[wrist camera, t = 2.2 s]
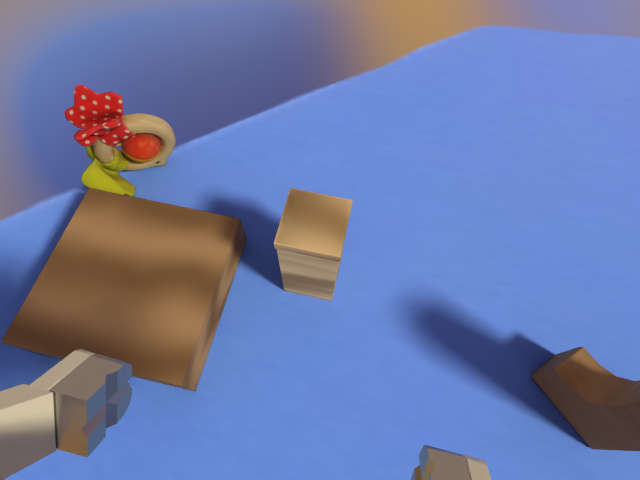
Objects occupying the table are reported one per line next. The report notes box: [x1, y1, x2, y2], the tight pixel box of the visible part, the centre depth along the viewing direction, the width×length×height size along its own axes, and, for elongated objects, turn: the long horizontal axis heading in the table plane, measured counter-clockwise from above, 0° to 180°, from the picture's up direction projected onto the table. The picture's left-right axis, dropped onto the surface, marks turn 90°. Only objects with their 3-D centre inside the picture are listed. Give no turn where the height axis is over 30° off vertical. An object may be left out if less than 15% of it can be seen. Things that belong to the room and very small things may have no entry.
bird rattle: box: [65, 85, 175, 196], centre depth 37 cm, size 6×11×9 cm
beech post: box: [274, 188, 353, 301], centre depth 32 cm, size 5×5×10 cm
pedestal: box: [1, 188, 247, 391], centre depth 34 cm, size 14×14×4 cm
